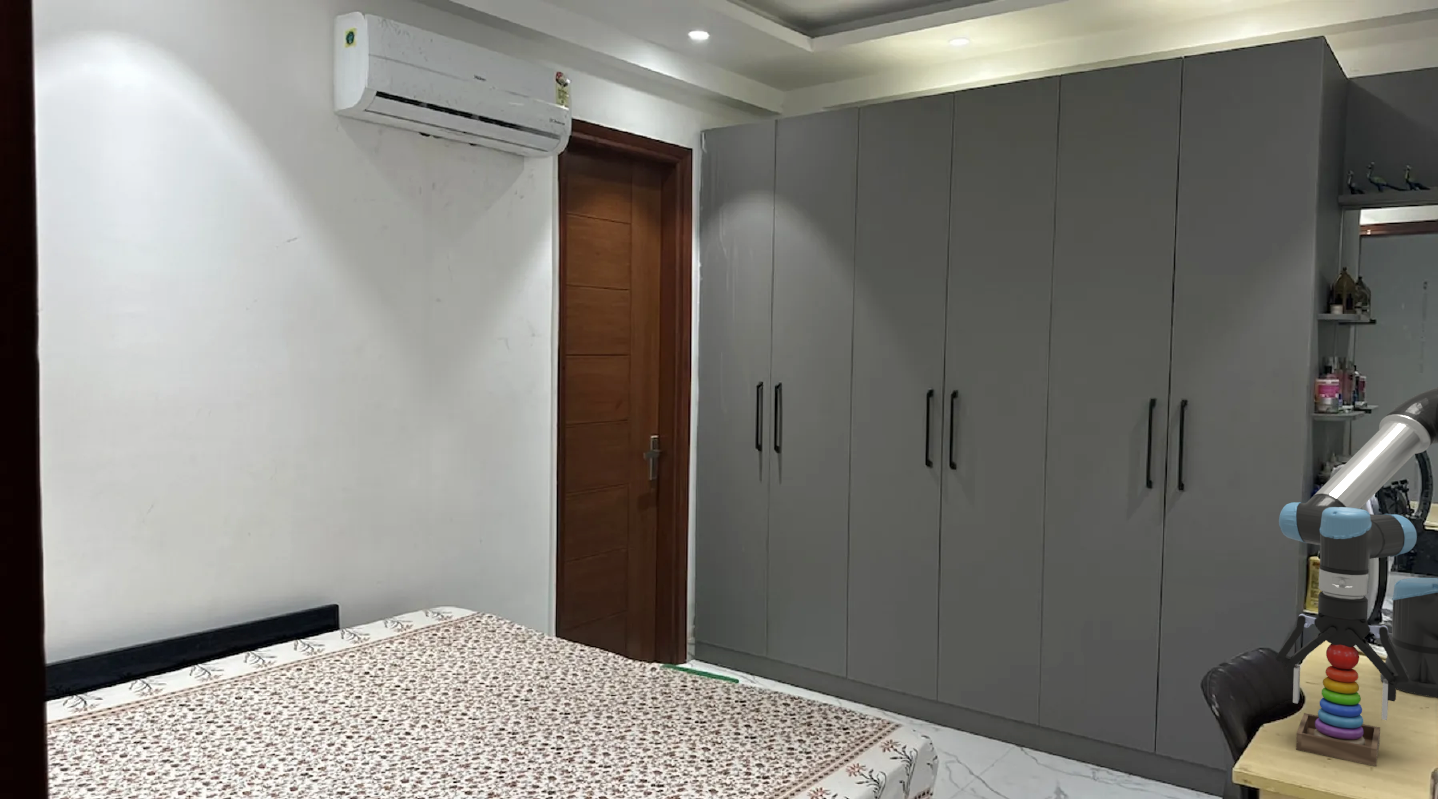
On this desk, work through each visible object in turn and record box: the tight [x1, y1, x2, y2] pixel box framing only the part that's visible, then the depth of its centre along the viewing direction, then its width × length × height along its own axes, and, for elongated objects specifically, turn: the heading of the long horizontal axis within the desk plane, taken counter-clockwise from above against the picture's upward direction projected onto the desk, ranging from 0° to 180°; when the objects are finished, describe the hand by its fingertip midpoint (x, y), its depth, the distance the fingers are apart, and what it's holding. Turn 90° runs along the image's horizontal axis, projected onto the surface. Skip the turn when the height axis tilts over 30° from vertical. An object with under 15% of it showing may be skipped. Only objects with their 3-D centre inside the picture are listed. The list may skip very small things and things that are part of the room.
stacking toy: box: [1314, 643, 1365, 745], centre depth 176 cm, size 8×8×19 cm
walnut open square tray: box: [1295, 712, 1381, 767], centre depth 177 cm, size 12×12×3 cm
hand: (1339, 709), depth 177 cm, fingers open, 13 cm apart
